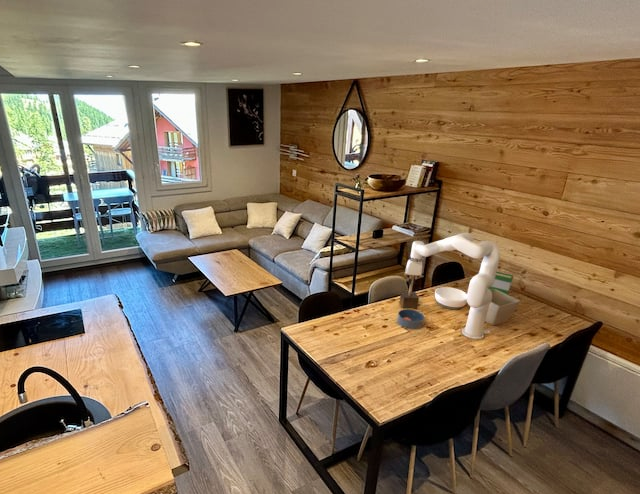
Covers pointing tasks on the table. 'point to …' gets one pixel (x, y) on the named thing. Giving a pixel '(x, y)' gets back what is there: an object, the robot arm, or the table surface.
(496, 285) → the green and white carton
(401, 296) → the stick holder
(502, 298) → the flower pot
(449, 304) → the bowl
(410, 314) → the mixing bowl
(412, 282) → the stick
